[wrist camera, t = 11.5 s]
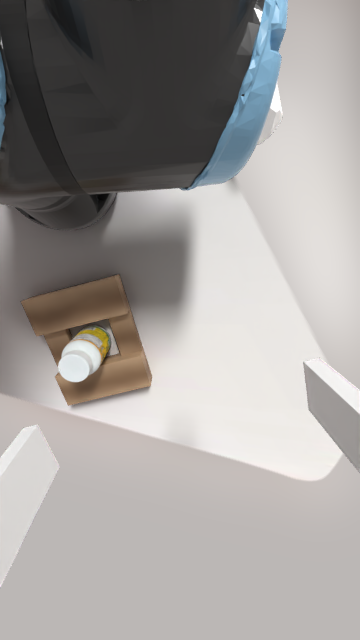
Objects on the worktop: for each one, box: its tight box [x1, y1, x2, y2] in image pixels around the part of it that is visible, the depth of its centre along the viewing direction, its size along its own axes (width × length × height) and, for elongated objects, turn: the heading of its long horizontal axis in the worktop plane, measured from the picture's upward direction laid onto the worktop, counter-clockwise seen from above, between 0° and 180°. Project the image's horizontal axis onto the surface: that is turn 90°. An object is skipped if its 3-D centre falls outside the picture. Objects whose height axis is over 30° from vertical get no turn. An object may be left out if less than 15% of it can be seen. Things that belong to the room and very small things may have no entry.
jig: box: [21, 274, 152, 405], centre depth 40 cm, size 18×14×3 cm
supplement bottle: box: [58, 325, 111, 382], centre depth 37 cm, size 5×5×10 cm
